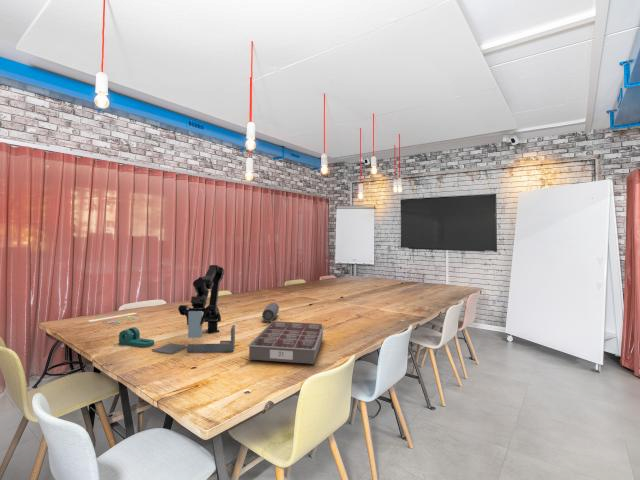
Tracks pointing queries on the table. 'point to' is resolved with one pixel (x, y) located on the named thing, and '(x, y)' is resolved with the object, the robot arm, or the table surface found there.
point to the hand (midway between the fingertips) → (194, 324)
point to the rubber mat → (170, 348)
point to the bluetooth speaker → (270, 312)
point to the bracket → (134, 338)
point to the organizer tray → (287, 342)
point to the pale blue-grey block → (194, 324)
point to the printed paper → (114, 317)
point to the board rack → (214, 345)
